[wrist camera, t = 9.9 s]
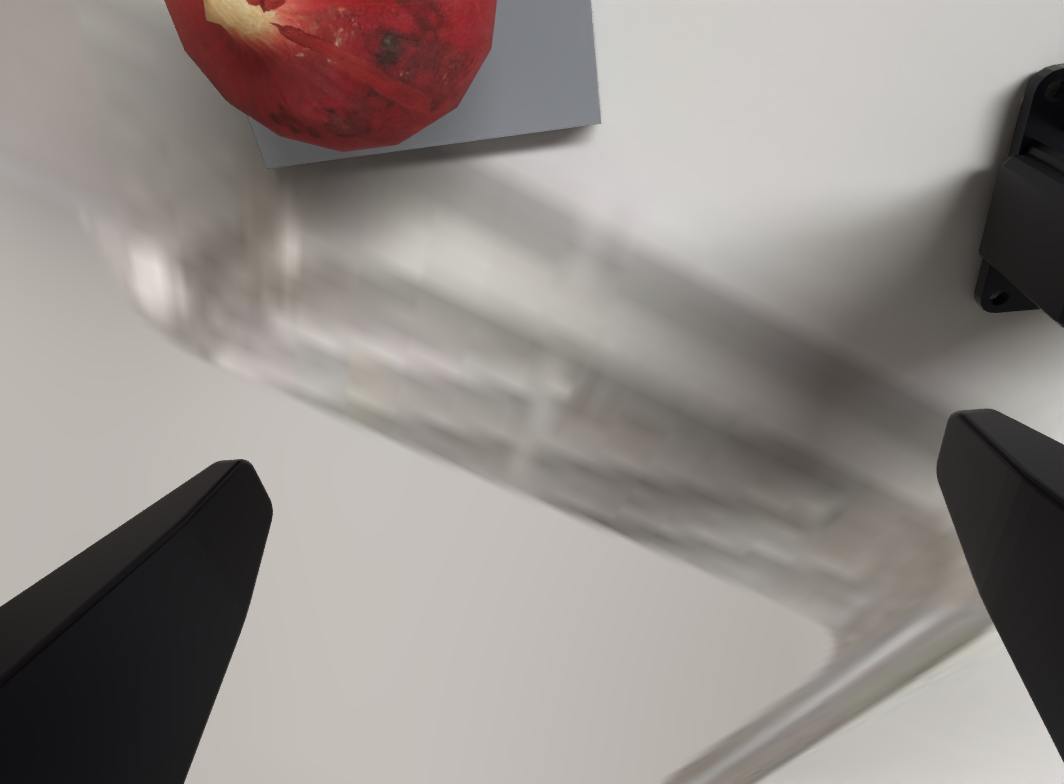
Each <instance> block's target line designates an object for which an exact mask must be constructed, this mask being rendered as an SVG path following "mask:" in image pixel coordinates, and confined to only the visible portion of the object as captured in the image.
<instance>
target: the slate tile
mask: <svg viewBox="0 0 1064 784" xmlns="http://www.w3.org/2000/svg"><path fill="white" fill-rule="evenodd" d="M247 116H248V115H247ZM248 119H249V122H250V124H251V127H252V130H253V132H254V135H255V138H256V141H257V143H258V146H259V149H260V151H261V154H262V157H263V159H264V162H265V165H266V168H267V169H269V168H277V167H284V166H292V165H299V164H306V163H314V162H321V161H329V160H336V159H343V158H351V157H358V156H366V155H373V154H380V153H388V152H395V151H402V150H410V149H417V148H425V147H432V146H439V145H447V144H454V143H462V142H469V141H476V140H484V139H491V138H499V137H506V136H513V135H521V134H528V133H536V132H543V131H550V130H558V129H565V128H573V127H580V126H587V125H595V124H601V110H600V99H599V87H598V75H597V63H596V52H595V40H594V28H593V16H592V5H591V0H497V6H496V15H495V23H494V32H493V40H492V49H491V50H490V52H489V54H488V56H487V57H486V59H485V61H484V62H483V64H482V66H481V68H480V69H479V71H478V73H477V75H476V76H475V78H474V80H473V81H472V83H471V85H470V87H469V88H468V90H467V92H466V94H465V95H464V97H463V99H462V100H461V102H460V104H459V106H458V107H457V108H456V109H454V110H453V111H451V112H449V113H448V114H446V115H445V116H443V117H441V118H440V119H438V120H437V121H435V122H434V123H432V124H430V125H429V126H427V127H426V128H424V129H422V130H421V131H419V132H418V133H416V134H415V135H413V136H411V137H410V138H408V139H406V140H405V141H403V142H401V143H399V144H398V145H393V146H386V147H378V148H370V149H363V150H355V151H348V152H340V151H336V150H332V149H328V148H324V147H320V146H316V145H312V144H308V143H304V142H300V141H296V140H292V139H288V138H284V137H280V136H278V135H277V134H275V133H274V132H272V131H271V130H269V129H268V128H266V127H265V126H263V125H262V124H260V123H259V122H257V121H256V120H254V119H253V118H251V117H250V116H248Z"/></svg>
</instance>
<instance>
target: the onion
mask: <svg viewBox="0 0 1064 784" xmlns="http://www.w3.org/2000/svg"><path fill="white" fill-rule="evenodd" d="M164 1H165V3H166V5H167V8H168V10H169V13H170V15H171V18H172V20H173V23H174V25H175V28H176V30H177V32H178V35H179V37H180V40H181V42H182V45H183V47H184V50H185V51H186V52H187V54H188V55H189V56H190V57H191V59H192V60H193V61H194V62H195V63H196V65H197V66H198V67H199V68H200V69H201V71H202V72H203V73H204V74H205V75H206V77H207V78H208V79H209V80H210V81H211V83H212V84H213V85H214V86H215V88H216V89H217V90H218V91H219V92H220V94H221V95H222V96H223V97H224V98H225V99H226V100H227V101H228V102H229V103H230V104H231V105H233V106H234V107H236V108H238V109H239V110H241V111H242V112H244V113H245V114H247V115H248V116H250V117H251V118H253V119H254V120H256V121H257V122H259V123H260V124H262V125H263V126H265V127H266V128H268V129H269V130H271V131H272V132H274V133H275V134H277V135H278V136H280V137H284V138H288V139H292V140H296V141H300V142H304V143H308V144H312V145H316V146H320V147H324V148H328V149H332V150H336V151H340V152H348V151H355V150H363V149H370V148H378V147H386V146H393V145H398V144H399V143H401V142H403V141H405V140H406V139H408V138H410V137H411V136H413V135H415V134H416V133H418V132H419V131H421V130H422V129H424V128H426V127H427V126H429V125H430V124H432V123H434V122H435V121H437V120H438V119H440V118H441V117H443V116H445V115H446V114H448V113H449V112H451V111H453V110H454V109H456V108H457V107H458V106H459V104H460V102H461V100H462V99H463V97H464V95H465V94H466V92H467V90H468V88H469V87H470V85H471V83H472V81H473V80H474V78H475V76H476V75H477V73H478V71H479V69H480V68H481V66H482V64H483V62H484V61H485V59H486V57H487V56H488V54H489V52H490V50H491V49H492V40H493V32H494V23H495V15H496V6H497V0H164Z"/></svg>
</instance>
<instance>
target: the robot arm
mask: <svg viewBox="0 0 1064 784" xmlns="http://www.w3.org/2000/svg"><path fill="white" fill-rule="evenodd" d="M1057 80H1060V86H1059V88H1058V90H1057V92H1056V93H1055V94H1053V95H1052V96H1051V97H1048V98H1045V92H1046V90H1047V88H1048V86H1049V85H1050V84H1052V83H1053V82H1054V81H1057ZM979 254H980V255H981V256H982V257H983V260H982V264H981V268H980V272H979V276H978V280H977V284H976V288H975V291H974V299H975V301H976V302H977V304H978V305H979V306H980V307H981V308H982V309H983V310H985V311H987V312H991V313H999V312H1011V311H1022V310H1034V309H1041V310H1043V311H1044V312H1045V313H1046V314H1047V315H1048V316H1049V317H1050V318H1052V319H1053V320H1054V321H1055V322H1056V323H1057V324H1058V325H1059V326H1061V327H1062V328H1064V64H1057V65H1052V66H1049V67H1046V68H1044V69H1042V70H1041V71H1039V72H1038V73H1036V74H1035V75H1034V77H1033V78H1032V79H1031V80H1030V81H1029V83H1028V85H1027V88H1026V90H1025V94H1024V98H1023V102H1022V105H1021V109H1020V113H1019V117H1018V121H1017V125H1016V129H1015V133H1014V137H1013V141H1012V145H1011V149H1010V153H1009V157H1008V158H1007V159H1006V160H1005V162H1004V163H1003V164H1002V165H1001V166H1000V168H999V172H998V176H997V180H996V184H995V188H994V192H993V197H992V201H991V205H990V209H989V213H988V217H987V221H986V225H985V229H984V233H983V237H982V241H981V245H980V249H979ZM1001 289H1003V291H1002V292H1001V294H1000V295H999V296H997V297H996V298H992V299H990V297H991V295H992V294H993V293H994V292H996V291H997V290H1001ZM937 478H938V482H939V485H940V488H941V491H942V494H943V496H944V499H945V502H946V505H947V507H948V510H949V513H950V516H951V518H952V521H953V524H954V527H955V530H956V532H957V535H958V538H959V541H960V543H961V546H962V549H963V552H964V554H965V557H966V560H967V563H968V565H969V568H970V571H971V574H972V576H973V579H974V581H975V584H976V586H977V589H978V592H979V594H980V596H981V598H982V601H983V603H984V605H985V607H986V609H987V611H988V613H989V615H990V617H991V619H992V621H993V623H994V625H995V627H996V629H997V631H998V633H999V635H1000V637H1001V639H1002V641H1003V643H1004V645H1005V647H1006V649H1007V651H1008V653H1009V655H1010V657H1011V659H1012V661H1013V663H1014V665H1015V667H1016V669H1017V671H1018V673H1019V675H1020V677H1021V679H1022V681H1023V683H1024V685H1025V687H1026V689H1027V691H1028V693H1029V695H1030V697H1031V699H1032V701H1033V703H1034V704H1035V706H1036V708H1037V710H1038V712H1039V714H1040V716H1041V718H1042V720H1043V722H1044V724H1045V726H1046V728H1047V730H1048V732H1049V734H1050V736H1051V738H1052V740H1053V742H1054V744H1055V746H1056V748H1057V750H1058V752H1059V754H1060V756H1061V758H1062V760H1063V762H1064V445H1063V444H1061V443H1059V442H1057V441H1056V440H1054V439H1052V438H1050V437H1048V436H1046V435H1044V434H1042V433H1040V432H1038V431H1036V430H1034V429H1032V428H1030V427H1028V426H1026V425H1024V424H1022V423H1020V422H1018V421H1016V420H1014V419H1012V418H1010V417H1008V416H1006V415H1004V414H1002V413H1000V412H998V411H996V410H993V409H974V410H960V411H956V412H954V413H953V414H952V415H951V416H950V417H949V420H948V422H947V426H946V429H945V433H944V437H943V441H942V445H941V449H940V453H939V457H938V460H937ZM272 515H273V509H272V504H271V500H270V498H269V496H268V494H267V492H266V490H265V488H264V486H263V484H262V482H261V480H260V478H259V477H258V475H257V473H256V471H255V469H254V467H253V465H252V464H251V463H250V462H249V461H247V460H243V459H237V460H223V461H218V462H216V463H214V464H212V465H210V466H209V467H207V468H206V469H205V470H203V471H201V472H200V473H199V474H197V475H196V476H194V477H193V478H191V479H190V480H188V481H187V482H185V483H184V484H182V485H181V486H179V487H178V488H176V489H175V490H173V491H172V492H170V493H169V494H167V495H166V496H164V497H163V498H161V499H160V500H158V501H157V502H155V503H154V504H153V505H151V506H150V507H148V508H147V509H145V510H143V511H142V512H141V513H139V514H138V515H136V516H135V517H133V518H132V519H130V520H129V521H127V522H126V523H124V524H123V525H121V526H120V527H118V528H117V529H115V530H114V531H112V532H111V533H109V534H108V535H107V536H105V537H103V538H102V539H100V540H99V541H97V542H96V543H95V544H93V545H91V546H90V547H89V548H87V549H86V550H84V551H83V552H81V553H80V554H78V555H77V556H75V557H74V558H72V559H71V560H69V561H68V562H66V563H65V564H63V565H62V566H60V567H59V568H57V569H56V570H54V571H53V572H51V573H50V574H48V575H47V576H45V577H44V578H42V579H41V580H39V581H38V582H37V583H35V584H34V585H32V586H31V587H29V588H28V589H26V590H25V591H23V592H22V593H20V594H19V595H17V596H16V597H14V598H13V599H11V600H10V601H8V602H7V603H5V604H4V605H2V606H1V607H0V784H184V782H185V779H186V777H187V774H188V771H189V768H190V766H191V763H192V761H193V758H194V755H195V753H196V750H197V747H198V745H199V742H200V739H201V737H202V734H203V731H204V729H205V726H206V723H207V721H208V718H209V715H210V713H211V710H212V707H213V705H214V702H215V699H216V696H217V694H218V691H219V689H220V686H221V683H222V681H223V678H224V675H225V673H226V670H227V668H228V665H229V662H230V660H231V657H232V654H233V652H234V649H235V646H236V644H237V641H238V638H239V636H240V633H241V630H242V627H243V624H244V621H245V618H246V615H247V612H248V608H249V605H250V602H251V598H252V594H253V590H254V587H255V583H256V579H257V575H258V571H259V567H260V564H261V560H262V555H263V552H264V548H265V544H266V541H267V537H268V533H269V529H270V525H271V521H272Z"/></svg>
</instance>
